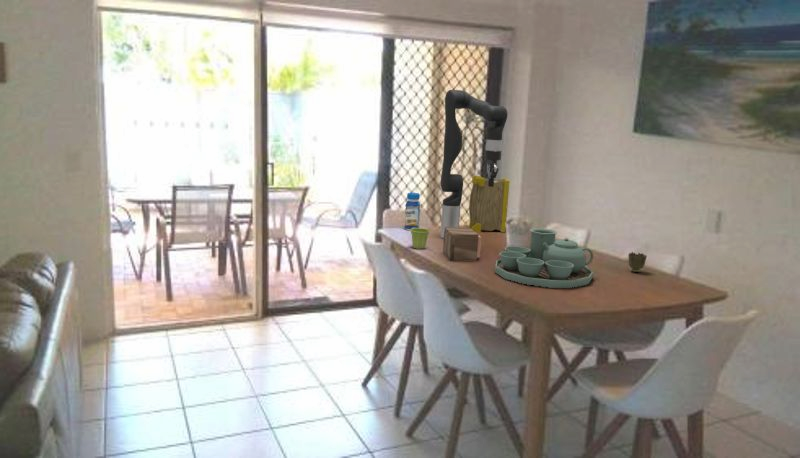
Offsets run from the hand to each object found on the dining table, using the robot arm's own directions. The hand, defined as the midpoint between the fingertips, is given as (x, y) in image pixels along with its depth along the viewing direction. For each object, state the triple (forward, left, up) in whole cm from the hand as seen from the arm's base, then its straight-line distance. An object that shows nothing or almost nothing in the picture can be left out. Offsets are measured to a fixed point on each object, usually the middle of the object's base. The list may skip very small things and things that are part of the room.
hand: (490, 186), depth 291 cm
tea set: (+43, +13, -32) cm, 55 cm away
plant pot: (-4, -32, -31) cm, 45 cm away
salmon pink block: (+13, -13, -30) cm, 35 cm away
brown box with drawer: (+13, -16, -31) cm, 37 cm away
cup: (+37, +57, -31) cm, 75 cm away
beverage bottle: (-48, -29, -31) cm, 64 cm away
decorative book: (-49, +14, -31) cm, 60 cm away
